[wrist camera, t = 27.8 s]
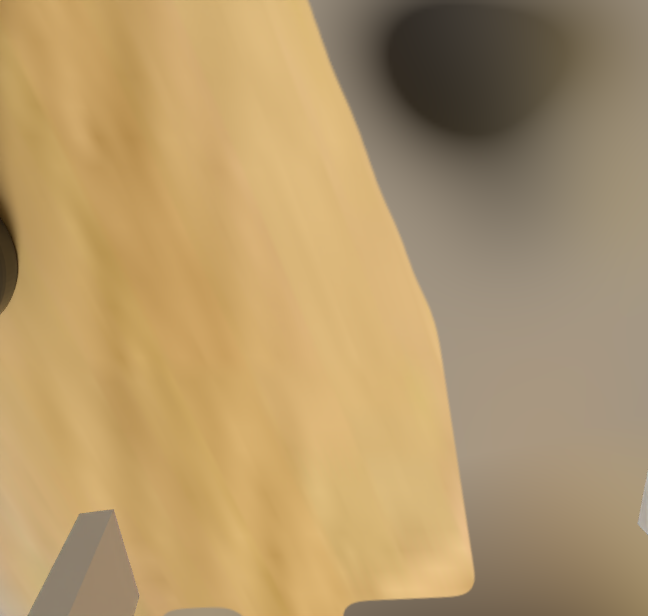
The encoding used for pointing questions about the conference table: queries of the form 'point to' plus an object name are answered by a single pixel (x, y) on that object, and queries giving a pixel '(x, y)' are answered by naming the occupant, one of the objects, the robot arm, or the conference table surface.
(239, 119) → the conference table surface
